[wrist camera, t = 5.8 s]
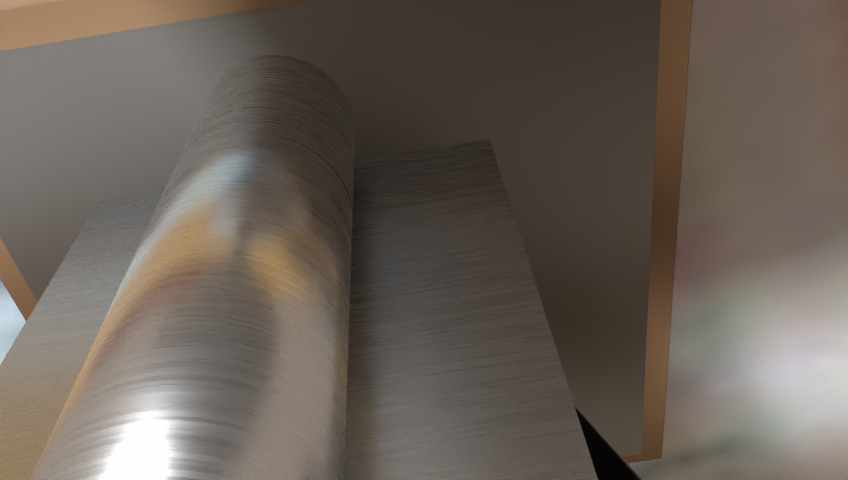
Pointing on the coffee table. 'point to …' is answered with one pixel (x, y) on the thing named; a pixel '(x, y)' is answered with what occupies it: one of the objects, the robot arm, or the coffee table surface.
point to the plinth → (390, 140)
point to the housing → (294, 315)
